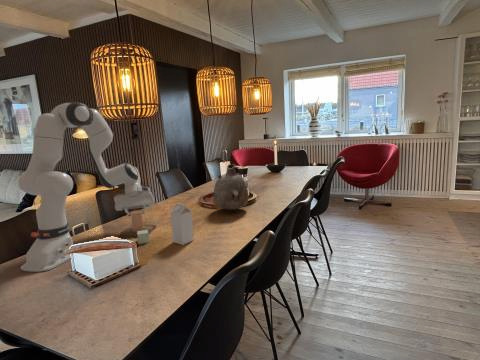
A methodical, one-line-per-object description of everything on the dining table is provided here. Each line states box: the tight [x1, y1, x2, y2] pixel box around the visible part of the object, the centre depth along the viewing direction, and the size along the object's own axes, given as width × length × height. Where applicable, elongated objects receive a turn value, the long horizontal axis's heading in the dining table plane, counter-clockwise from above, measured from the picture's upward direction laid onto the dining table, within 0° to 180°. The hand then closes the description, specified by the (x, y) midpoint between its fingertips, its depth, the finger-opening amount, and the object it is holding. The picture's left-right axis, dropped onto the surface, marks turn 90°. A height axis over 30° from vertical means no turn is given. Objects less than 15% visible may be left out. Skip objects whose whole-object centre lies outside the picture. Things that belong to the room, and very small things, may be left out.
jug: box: [213, 163, 249, 212], centre depth 194 cm, size 24×21×30 cm
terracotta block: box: [130, 209, 144, 232], centre depth 166 cm, size 5×5×10 cm
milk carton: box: [170, 202, 194, 246], centre depth 151 cm, size 7×7×19 cm
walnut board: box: [118, 224, 157, 238], centre depth 168 cm, size 14×14×2 cm
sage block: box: [137, 230, 150, 245], centre depth 154 cm, size 5×5×5 cm
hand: (136, 214), depth 165 cm, fingers open, 6 cm apart
